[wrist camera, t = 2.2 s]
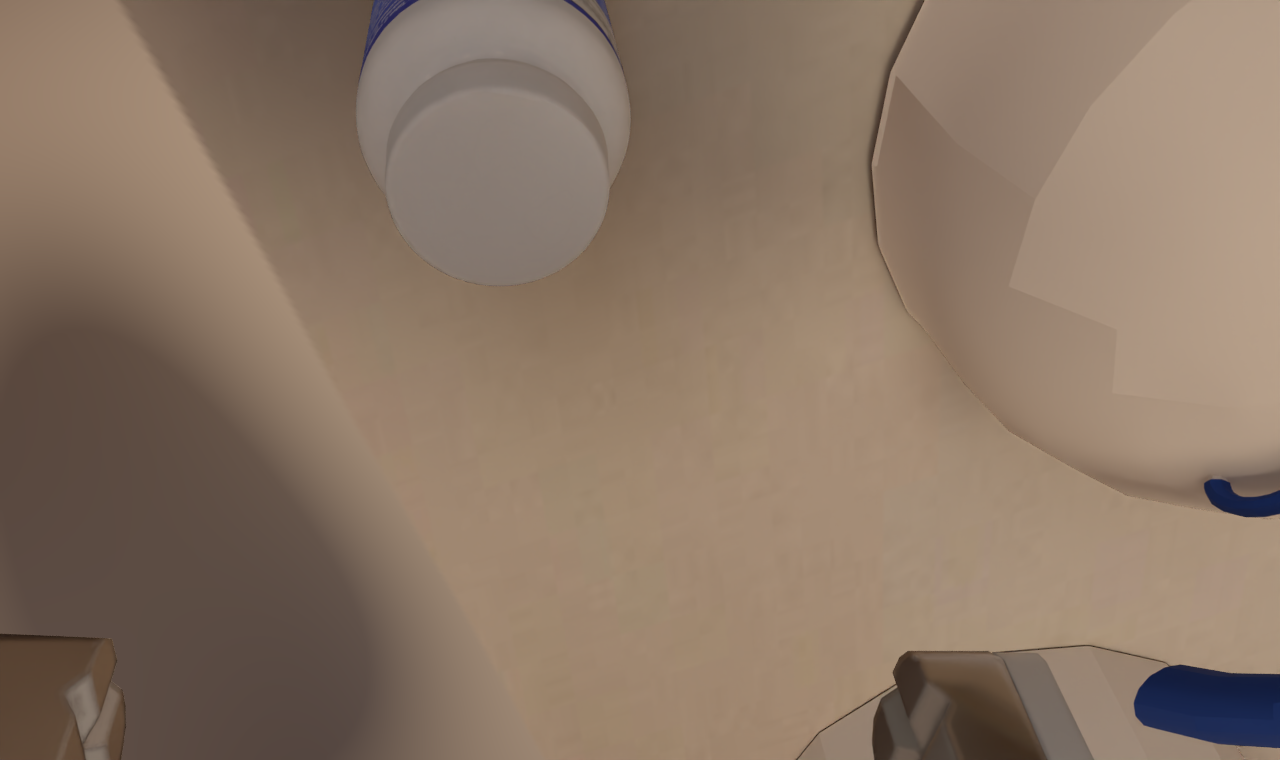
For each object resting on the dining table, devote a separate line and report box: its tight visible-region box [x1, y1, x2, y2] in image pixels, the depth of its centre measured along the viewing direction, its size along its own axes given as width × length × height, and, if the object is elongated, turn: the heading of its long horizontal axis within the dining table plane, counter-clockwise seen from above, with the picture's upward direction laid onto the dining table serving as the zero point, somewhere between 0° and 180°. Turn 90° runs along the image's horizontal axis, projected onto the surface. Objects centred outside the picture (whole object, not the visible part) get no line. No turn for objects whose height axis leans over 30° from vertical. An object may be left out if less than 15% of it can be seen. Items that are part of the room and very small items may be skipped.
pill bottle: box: [356, 0, 631, 286], centre depth 24 cm, size 5×5×10 cm
